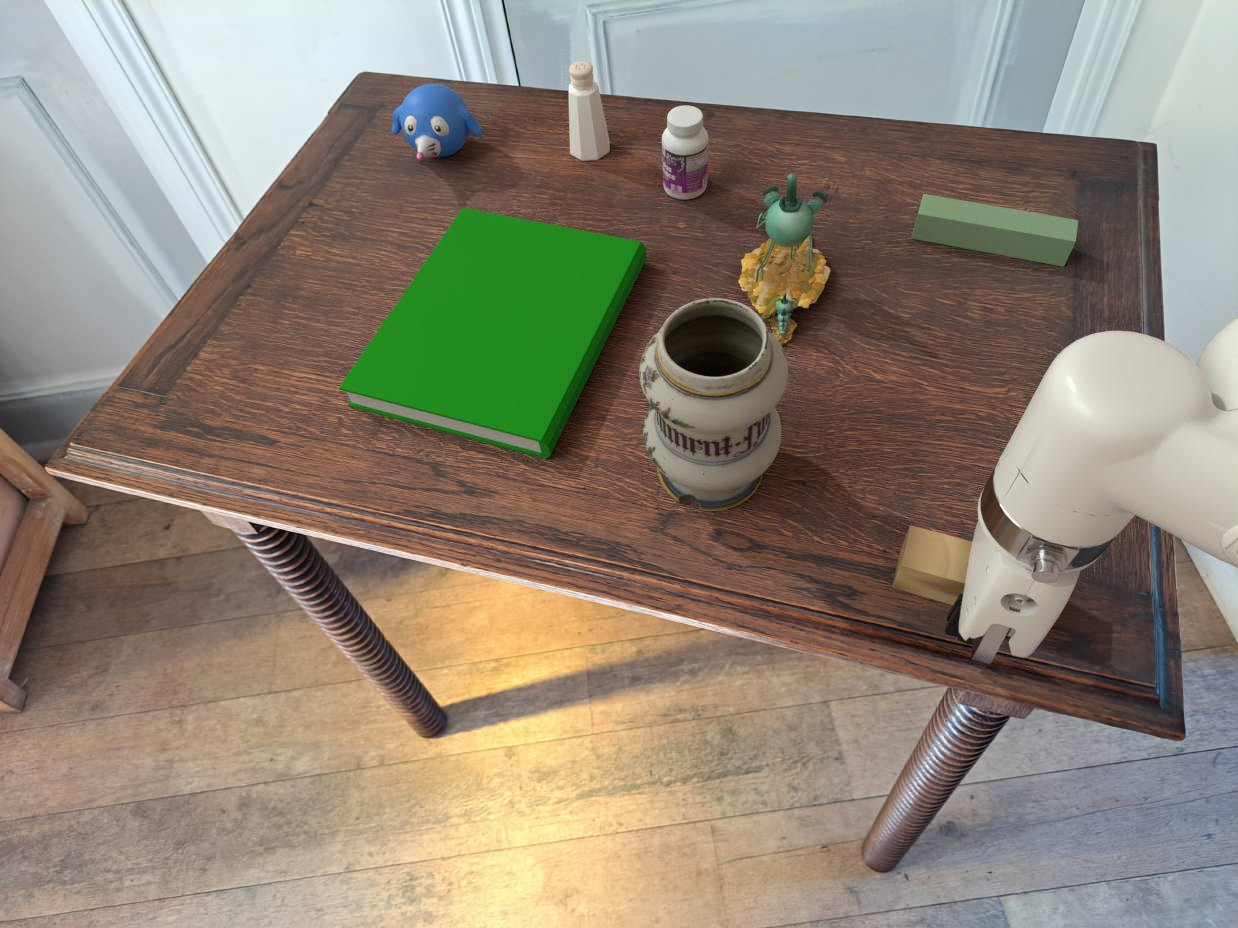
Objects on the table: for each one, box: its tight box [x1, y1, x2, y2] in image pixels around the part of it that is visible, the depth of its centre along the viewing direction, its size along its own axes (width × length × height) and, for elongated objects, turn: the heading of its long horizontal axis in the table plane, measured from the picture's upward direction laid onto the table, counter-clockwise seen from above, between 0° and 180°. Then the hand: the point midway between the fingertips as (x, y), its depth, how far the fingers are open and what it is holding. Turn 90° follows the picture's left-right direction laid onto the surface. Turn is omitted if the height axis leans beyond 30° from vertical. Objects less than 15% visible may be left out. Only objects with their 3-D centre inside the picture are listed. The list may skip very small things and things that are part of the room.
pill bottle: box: [661, 104, 709, 201], centre depth 99 cm, size 5×5×10 cm
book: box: [338, 207, 648, 460], centre depth 90 cm, size 22×28×3 cm
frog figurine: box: [738, 173, 831, 346], centre depth 87 cm, size 10×18×15 cm, turn 159°
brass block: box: [891, 524, 973, 606], centre depth 69 cm, size 12×4×4 cm, turn 69°
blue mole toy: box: [390, 83, 484, 162], centre depth 106 cm, size 12×12×8 cm
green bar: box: [910, 193, 1079, 267], centre depth 92 cm, size 16×4×4 cm, turn 69°
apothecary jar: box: [638, 297, 789, 512], centre depth 72 cm, size 12×12×18 cm
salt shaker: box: [568, 60, 611, 162], centre depth 104 cm, size 5×5×11 cm
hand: (966, 630), depth 66 cm, fingers closed
